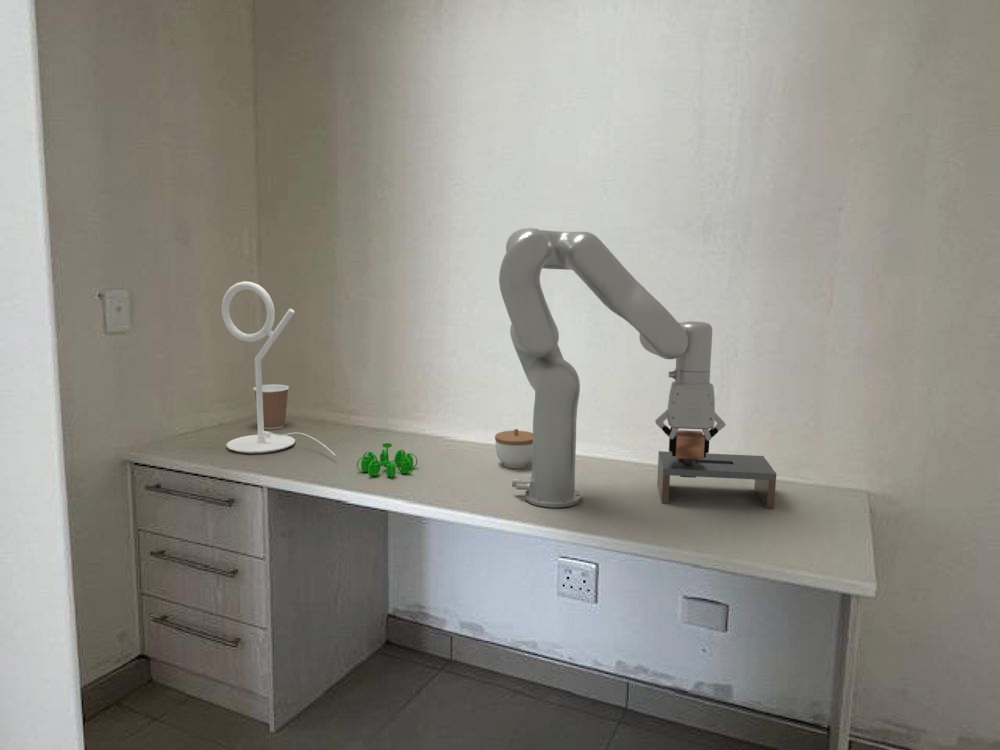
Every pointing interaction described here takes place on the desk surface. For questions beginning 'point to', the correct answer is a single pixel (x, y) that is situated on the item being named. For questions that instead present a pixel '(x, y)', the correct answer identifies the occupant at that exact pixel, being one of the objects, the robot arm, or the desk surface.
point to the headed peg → (689, 446)
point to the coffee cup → (274, 405)
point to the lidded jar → (514, 448)
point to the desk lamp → (258, 372)
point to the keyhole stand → (719, 472)
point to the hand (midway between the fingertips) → (688, 454)
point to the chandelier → (387, 462)
